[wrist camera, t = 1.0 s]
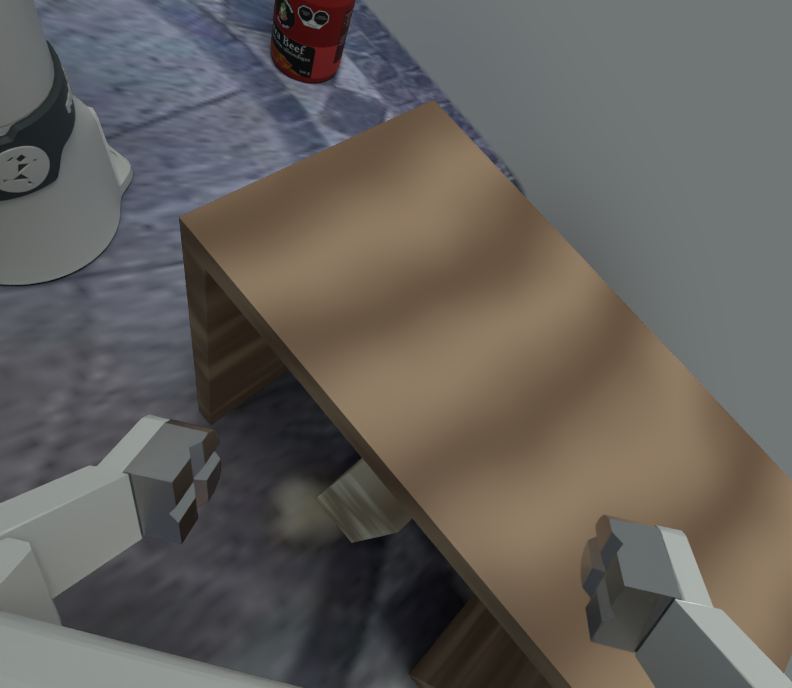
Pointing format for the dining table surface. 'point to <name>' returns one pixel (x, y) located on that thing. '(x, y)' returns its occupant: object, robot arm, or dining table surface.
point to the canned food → (310, 37)
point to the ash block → (363, 504)
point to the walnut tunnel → (483, 393)
